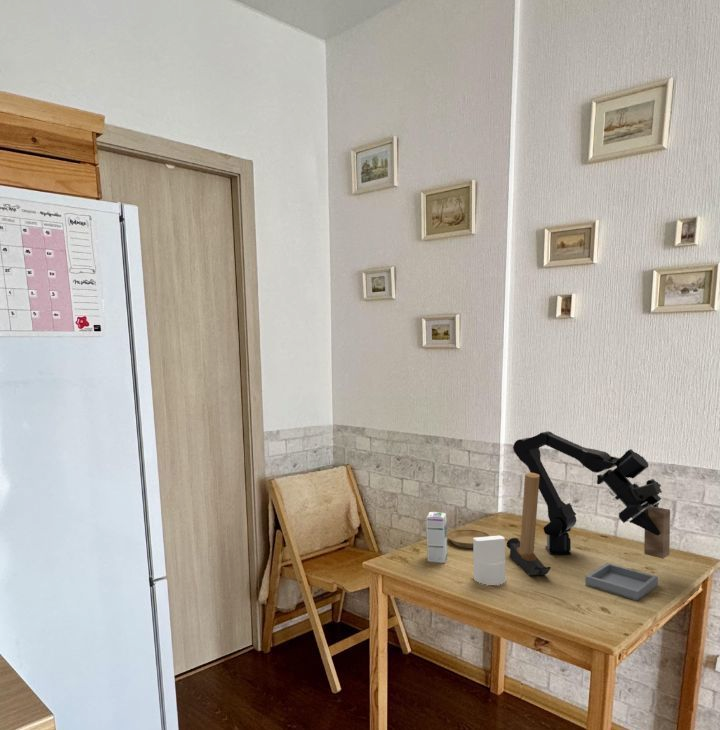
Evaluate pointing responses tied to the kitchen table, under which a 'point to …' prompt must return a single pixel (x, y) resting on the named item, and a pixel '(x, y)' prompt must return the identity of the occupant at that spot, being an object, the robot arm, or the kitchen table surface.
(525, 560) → the hammer
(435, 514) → the syrup box
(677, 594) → the kitchen table surface
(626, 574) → the tray
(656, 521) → the walnut block
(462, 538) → the plant saucer
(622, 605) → the kitchen table surface
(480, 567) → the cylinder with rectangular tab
